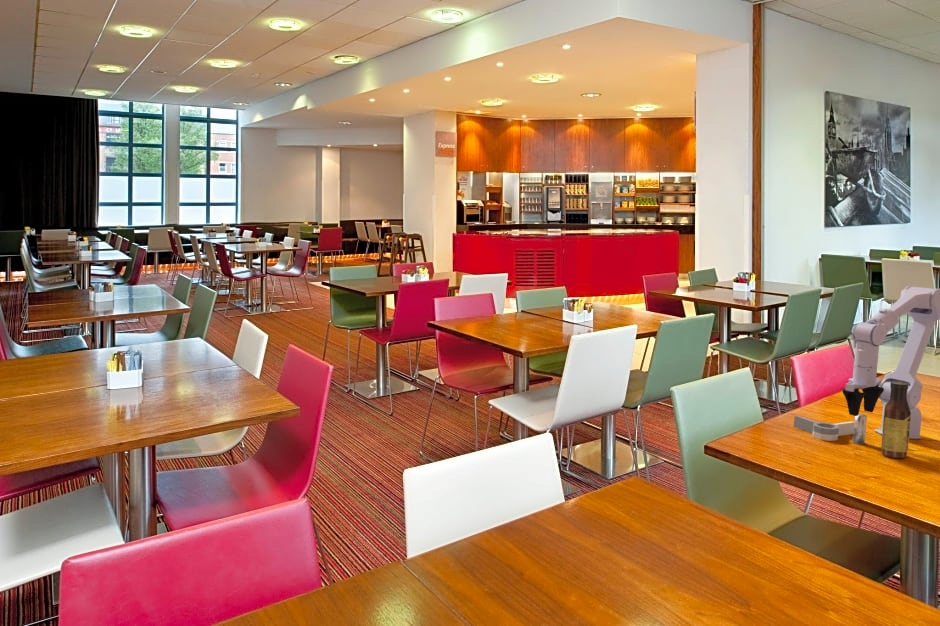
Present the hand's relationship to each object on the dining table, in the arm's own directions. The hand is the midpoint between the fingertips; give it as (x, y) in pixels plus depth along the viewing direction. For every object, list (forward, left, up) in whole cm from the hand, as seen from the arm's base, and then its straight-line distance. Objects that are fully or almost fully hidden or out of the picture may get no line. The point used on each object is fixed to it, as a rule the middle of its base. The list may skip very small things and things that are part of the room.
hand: (861, 413), depth 203 cm
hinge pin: (0, 0, -9) cm, 9 cm away
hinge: (+5, -10, -9) cm, 14 cm away
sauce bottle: (-3, +11, -9) cm, 14 cm away
